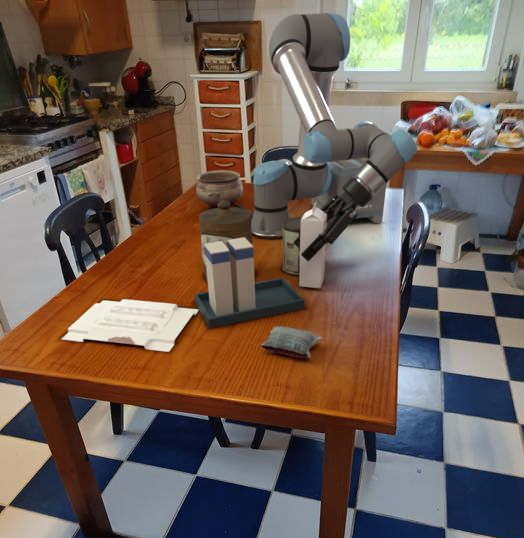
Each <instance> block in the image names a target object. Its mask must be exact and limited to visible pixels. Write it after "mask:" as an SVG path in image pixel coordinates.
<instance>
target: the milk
mask: <svg viewBox="0 0 524 538" xmlns="http://www.w3.org/2000/svg"><path fill="white" fill-rule="evenodd" d="M301 217H302V219H301V233H300V275H299V279H298V281H299V283H298V284H299V285H298V286H299V287H301V288H313V289H321V288H322V284H323V281H324V277H325V260H326V244H325V245H324V246H323V247H322V248H321V249H320V250H319V251H318V252H317V253H316V254H315V255H314V256H313V257H312V258H311V259H310V260H309V262H308V261H307V260H306V259H305V258H304V257H303V256H301V254H302V253H303V252H304V250H305V249H306V248H307V247H308V246H309V245H310V244H311V243H312V242H313V241H314V240H315V239H316V238H317V237H318V235H319V234H323V232H324V231H325V229H326V228H327V223H328V222H327V214H326V213H324V212H323V211H321V210H320V209H318V208H317V207H316V203H315V205H314V206H313V205H312V208H311V209H309V210H308V211H305V212H304V214H303V216H301Z"/></svg>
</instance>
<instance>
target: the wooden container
mask: <svg viewBox="0 0 524 538" xmlns="http://www.w3.org/2000/svg"><path fill="white" fill-rule="evenodd" d="M218 207H219V208H211V209H207V210H205V211H203V212H201V213H200V214H199V215H198V225H199V230H200V231H199V232H200V243H201V256H202V264H203V274H204V279H205V280H206V281H208V280H207V270H206V260H205V251H204V244H206V243H212V242H218V241H222V242H223V243H224V244H225V246H226V247H227V248H228V243H227V240H231V239H237V238H243V237H245V238H246V239H247V240H248V241H249V242H250V243H251V244H252V245H253V246H254V242H253V235H252V228H251V222H252V216H251V214H250V212H249V211H250V210H249V211H247V210H248V209H247V210H245V209H246V208H245V209H242V208H238V207H236V206H231V205H230V203H229V202H228V201H226V200H222V201H221V202H219V203H218Z"/></svg>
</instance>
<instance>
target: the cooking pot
mask: <svg viewBox="0 0 524 538" xmlns="http://www.w3.org/2000/svg"><path fill="white" fill-rule="evenodd" d="M240 177H241V173H240V172H237V171H235V170H226V169H225V170H223V169H221V170H219V169H217V170H211V171H209V170H208V171H204V172H201V173H199V174H197V175H196V179H197V181H196V187H195V191H196V195H197V197H198V199H199V200H200V201H201V202H202V203H204V204H206V205H208V206H210V207H212V208H213V209H215V208H219V207H218V203H219V202H221V201H222V200H226V201H228V202H229V203H230V206H232V204H233V203H236V202H237V201H238V200H240V199H241V197H242V195H243V192H244V187H243V184H242V180H241V179H240Z"/></svg>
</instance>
